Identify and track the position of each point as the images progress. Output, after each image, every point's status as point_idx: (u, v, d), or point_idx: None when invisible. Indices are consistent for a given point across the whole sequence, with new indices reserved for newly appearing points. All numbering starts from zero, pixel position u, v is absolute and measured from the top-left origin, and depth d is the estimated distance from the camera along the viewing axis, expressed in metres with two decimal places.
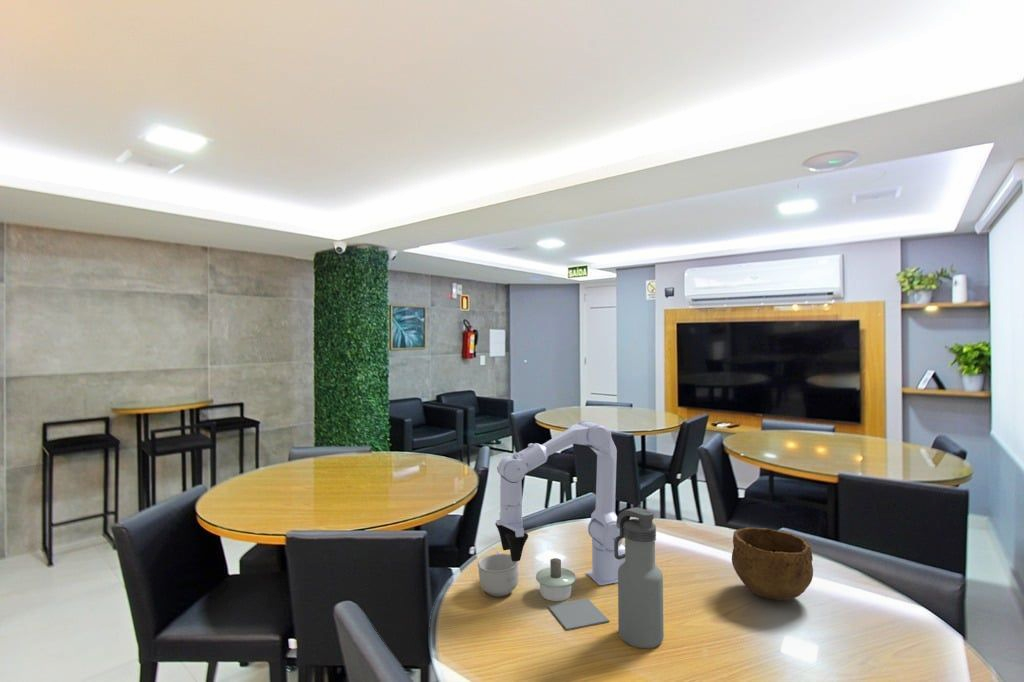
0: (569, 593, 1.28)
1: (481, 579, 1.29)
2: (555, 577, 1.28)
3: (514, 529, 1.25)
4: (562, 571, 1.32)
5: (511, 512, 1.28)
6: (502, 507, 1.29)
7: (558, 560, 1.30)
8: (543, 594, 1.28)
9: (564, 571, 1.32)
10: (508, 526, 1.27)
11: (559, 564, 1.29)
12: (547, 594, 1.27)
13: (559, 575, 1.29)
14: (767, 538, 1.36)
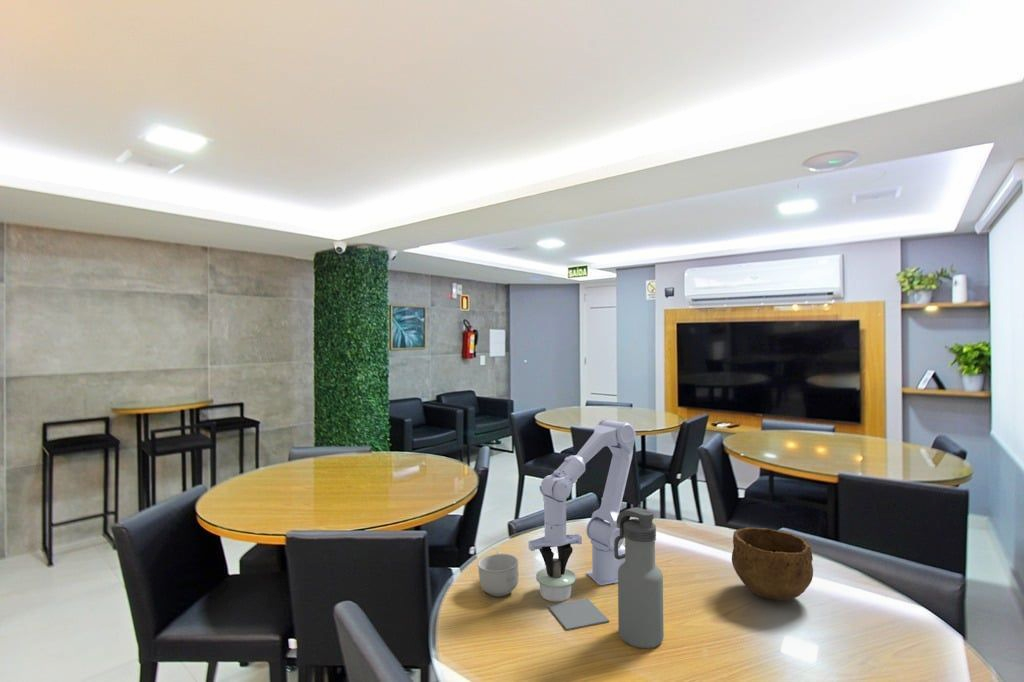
0: (569, 593, 1.27)
1: (481, 579, 1.29)
2: (555, 577, 1.28)
3: None
4: None
5: None
6: None
7: (558, 560, 1.30)
8: (543, 594, 1.27)
9: None
10: None
11: (559, 564, 1.29)
12: (547, 594, 1.26)
13: (559, 575, 1.29)
14: (767, 538, 1.36)
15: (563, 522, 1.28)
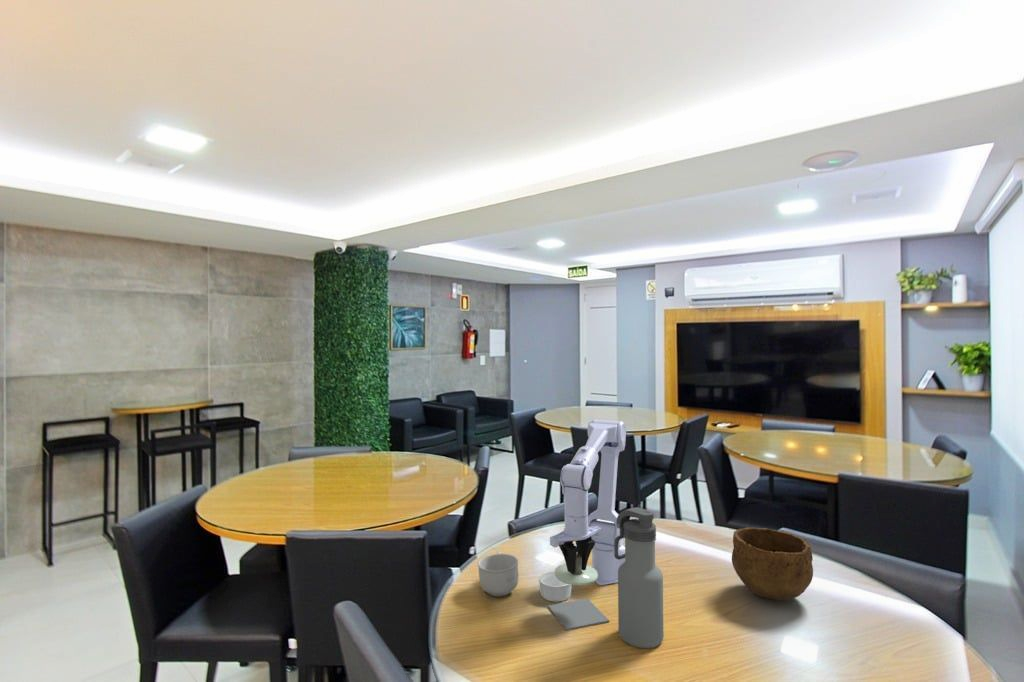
0: (569, 593, 1.27)
1: (481, 579, 1.29)
2: (577, 574, 1.19)
3: None
4: None
5: (565, 521, 1.20)
6: None
7: (579, 555, 1.21)
8: (543, 594, 1.27)
9: None
10: None
11: (581, 560, 1.20)
12: (547, 594, 1.26)
13: (581, 571, 1.20)
14: (767, 538, 1.36)
15: (587, 512, 1.20)
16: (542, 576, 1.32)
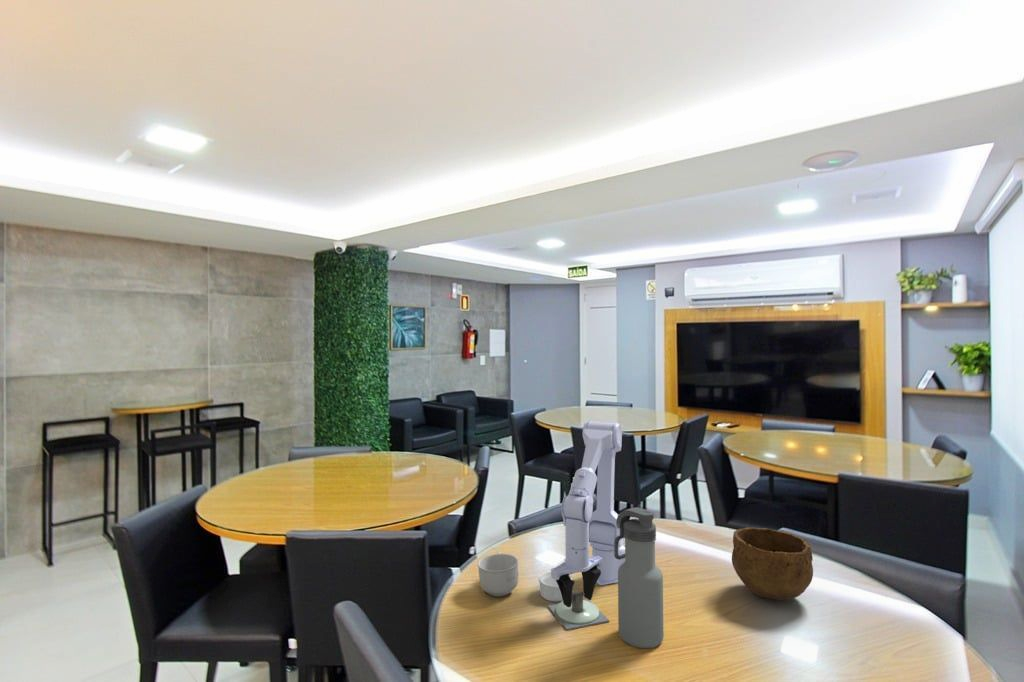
0: None
1: (481, 579, 1.29)
2: (578, 612, 1.18)
3: None
4: None
5: (566, 552, 1.19)
6: None
7: (580, 592, 1.20)
8: (543, 594, 1.27)
9: (583, 603, 1.23)
10: None
11: (582, 597, 1.19)
12: (547, 594, 1.26)
13: (582, 609, 1.19)
14: (767, 538, 1.36)
15: (588, 544, 1.19)
16: (542, 576, 1.32)
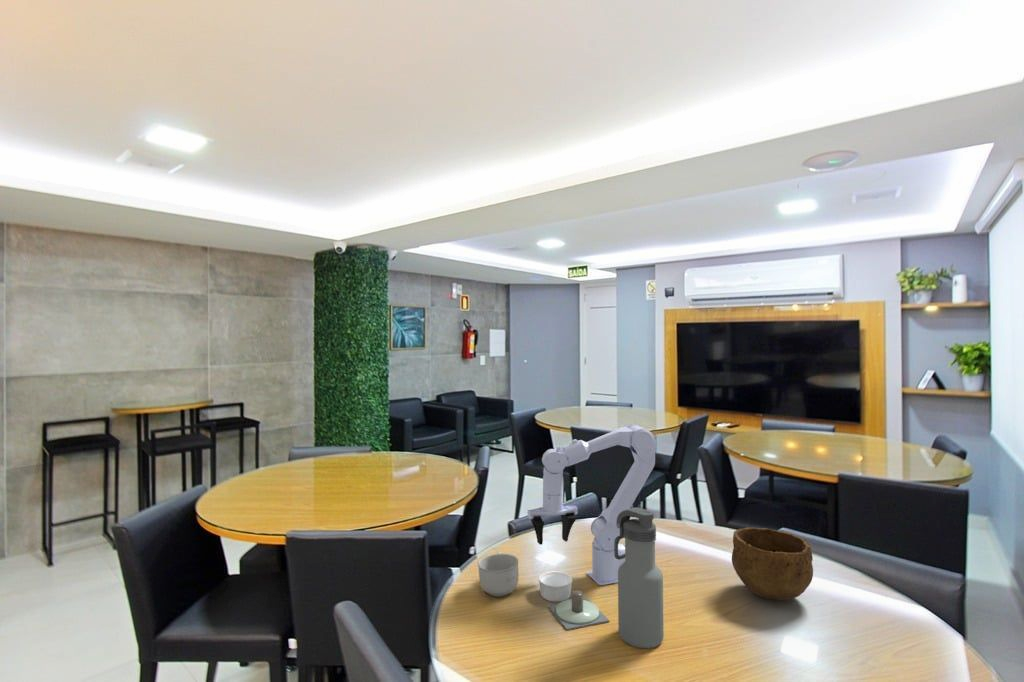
0: (569, 593, 1.27)
1: (481, 579, 1.29)
2: (578, 612, 1.18)
3: None
4: None
5: None
6: None
7: (580, 592, 1.20)
8: (543, 594, 1.27)
9: (583, 603, 1.23)
10: None
11: (582, 597, 1.19)
12: (547, 594, 1.26)
13: (582, 609, 1.19)
14: (767, 538, 1.36)
15: (556, 493, 1.36)
16: (542, 576, 1.32)
